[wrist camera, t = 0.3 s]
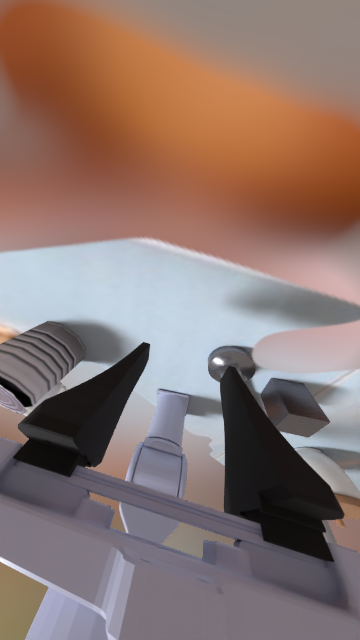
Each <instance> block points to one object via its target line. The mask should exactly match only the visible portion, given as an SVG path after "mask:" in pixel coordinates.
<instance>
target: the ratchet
mask: <svg viewBox="0 0 360 640" xmlns="http://www.w3.org/2000/svg"><path fill="white" fill-rule="evenodd" d="M228 366H232V367H236V369H237V371H238V372H239V374H240V376H241V377H242V379H243V381H244V383H245V382H246V381H248V380H249V379H251V378H252V377H253V375H254V374H255V365H254V363H253V360H252V358H251V355H250V354H249V353H248V352H247V351H246V350H245V349H243V348H241V347H237V346H223V347H219V348H217V349H215V350H214V351H213V352H212V353H211V354H210V355H209V358H208V371H209V374H210V375H211V377H212V378H213V379H215V380H216V381H218V382H220V379H221V378H222V376H223V374H224V373H225V371H226V369H227V368H228Z"/></svg>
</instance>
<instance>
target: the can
mask: <svg viewBox="0 0 360 640" xmlns="http://www.w3.org/2000/svg"><path fill="white" fill-rule="evenodd" d="M85 351H86V348H85V347H84V345H83V343H82V342H81V340H80V339H79V337H78V336H77V335H76V334H74V333H73V332H72V331H70V330H69V329H67V328H66V327H65V326H63V325H60V324H56V323H52V322H48V321H47V322H45V323H43V324H41V325H39V326H37V327H35V328H32V329H30V330H28V331H26V332H24V333H22V334H20V335H18V336H16V337H14V338H12V339H10V340H8V341H6V342H4V343H2V344H0V405H1V406H2V407H5V408H7V409H9V410H11V411H14V412H16V413H19V414H21V415H23V414H24V413H26V412H27V409H26V408H25V407H32V406H34V405H35V404H36V403H37V402H38V401H39V400H40V399H41V398H42V397H43V396H44V395H45V394H46V393H47V392H49V391H50V390H51V389H52V388H53V387H54V386H55V385H56V384H57V383H58V382H59V381H60V380H61V379H62V378H63V377H64V376H66V375H67V374H68V373H69V372H70V371H71V370H72V369H73V368H74V367H75V366H76V365H77V364H78V363H79V362H80V361H81V360H83V359H84V358H85Z"/></svg>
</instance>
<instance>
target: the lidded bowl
mask: <svg viewBox="0 0 360 640" xmlns="http://www.w3.org/2000/svg"><path fill="white" fill-rule="evenodd" d="M295 450H296V451H297V453H298V454H299V455H300V456H301V457H302V458H303V459H304V460H305V461H306V462H307V463H308V464H309V465H310V466H311V467H312V468H313V469H314V470H315V471H316V472H317V473H318V474H319V475H320V476H321V477H322V478H323V479H324V480H325V481H326V482H327V483H328V484H329V485H330V487H331V489H332V491H333V492H334V494H335V496H336V498H337V500H338V502H339V504H340V506H341V508H342V510H343V512H344V518H345V519H360V492H359V490H358V489H357V487H356V486H355V484H354V483H353V482H352V480H351V479H350V478H349V476H348V475H347V474H346V473H345V471H344V470H343V469H342V468H341V467H340V466H339V465H338V464H337V463H336V462H334V461H333V460H332V459H330V458H329V457H328V456H326V455H324V454H323V452H322V451H320V450H318V449H315V448H308V447H300V448H295ZM336 522H337V525H338V526H339V527H343V528H345V525H344V523H343V521H342V519H337V520H336Z"/></svg>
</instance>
